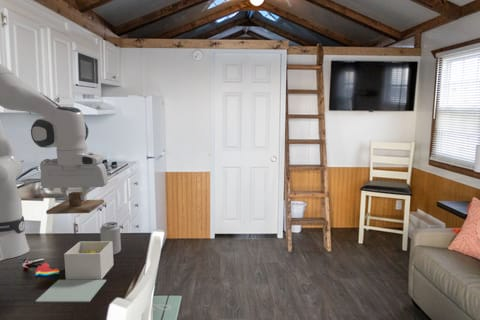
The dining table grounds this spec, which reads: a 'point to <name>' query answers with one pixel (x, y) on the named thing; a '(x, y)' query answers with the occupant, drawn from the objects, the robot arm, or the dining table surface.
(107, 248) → the white open square box
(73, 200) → the lid
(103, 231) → the can
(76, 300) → the mat
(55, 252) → the dining table surface
